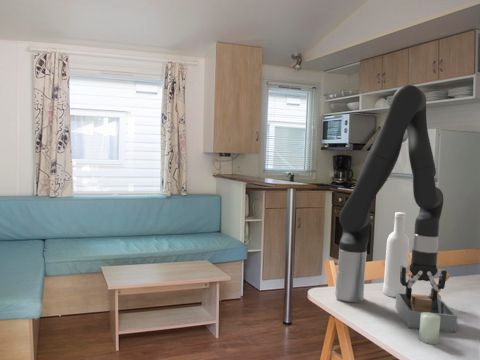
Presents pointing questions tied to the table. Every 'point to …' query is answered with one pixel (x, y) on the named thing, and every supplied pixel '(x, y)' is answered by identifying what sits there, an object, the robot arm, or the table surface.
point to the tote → (413, 318)
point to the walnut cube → (420, 303)
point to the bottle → (396, 257)
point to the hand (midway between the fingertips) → (420, 299)
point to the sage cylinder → (429, 328)
